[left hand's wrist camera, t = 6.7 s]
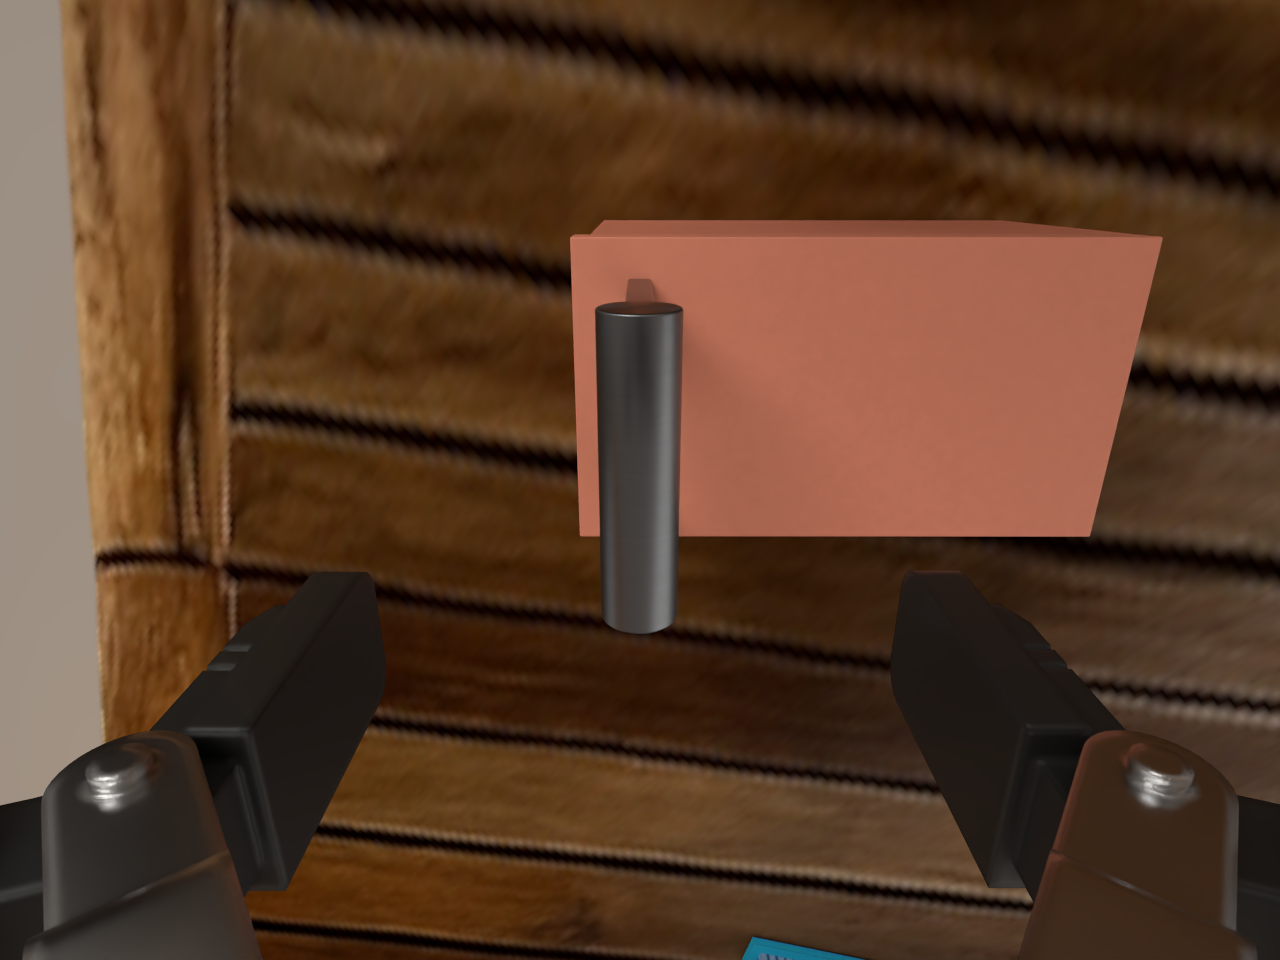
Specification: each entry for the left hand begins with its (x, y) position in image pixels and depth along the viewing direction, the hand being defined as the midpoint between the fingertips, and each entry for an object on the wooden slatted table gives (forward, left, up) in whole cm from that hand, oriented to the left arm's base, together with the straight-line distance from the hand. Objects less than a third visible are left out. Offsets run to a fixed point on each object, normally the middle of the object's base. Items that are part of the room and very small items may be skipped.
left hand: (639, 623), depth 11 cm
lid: (-2, +6, -14) cm, 16 cm away
